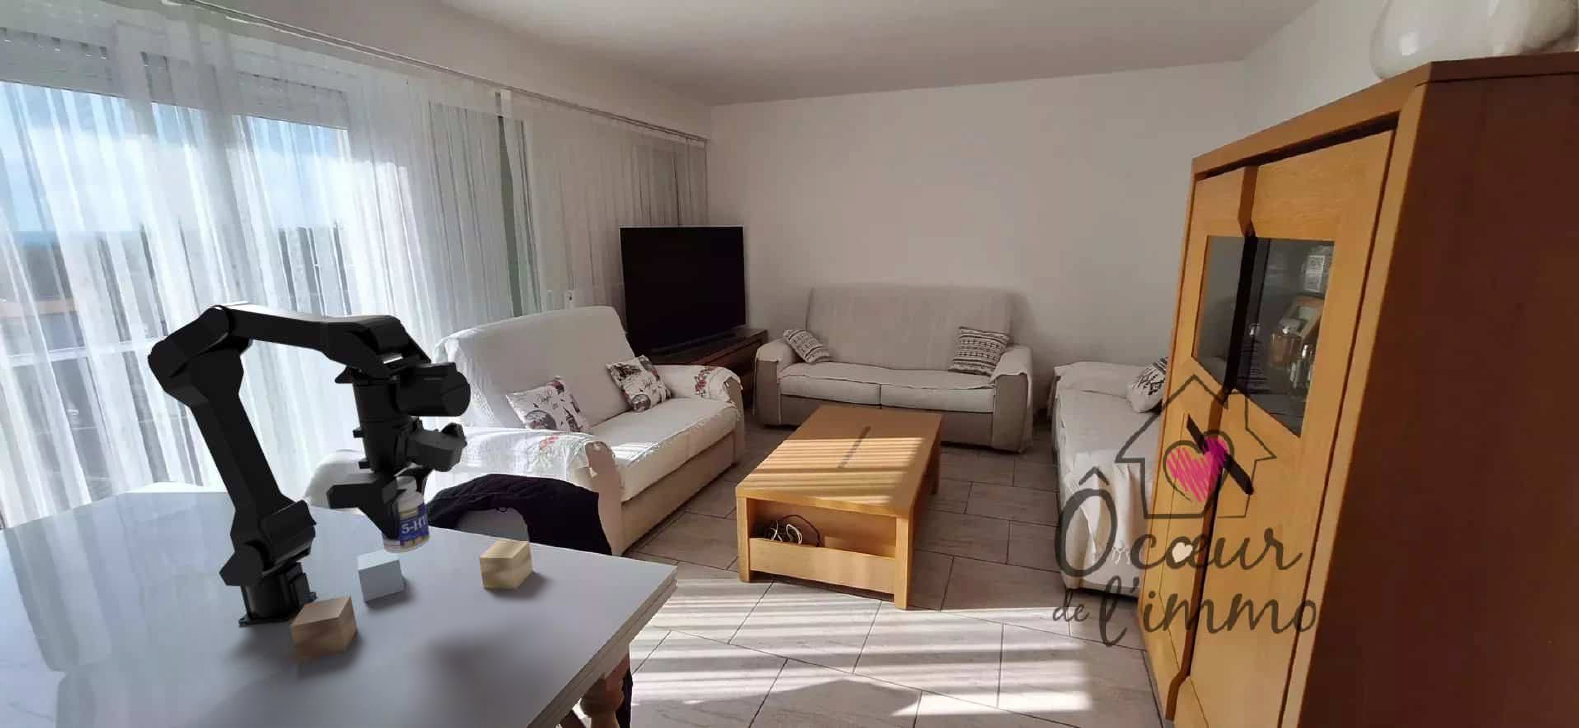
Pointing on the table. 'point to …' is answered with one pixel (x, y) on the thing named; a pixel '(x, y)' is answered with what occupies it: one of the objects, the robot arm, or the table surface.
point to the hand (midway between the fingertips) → (405, 528)
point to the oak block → (506, 564)
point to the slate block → (379, 574)
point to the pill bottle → (409, 519)
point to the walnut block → (324, 628)
